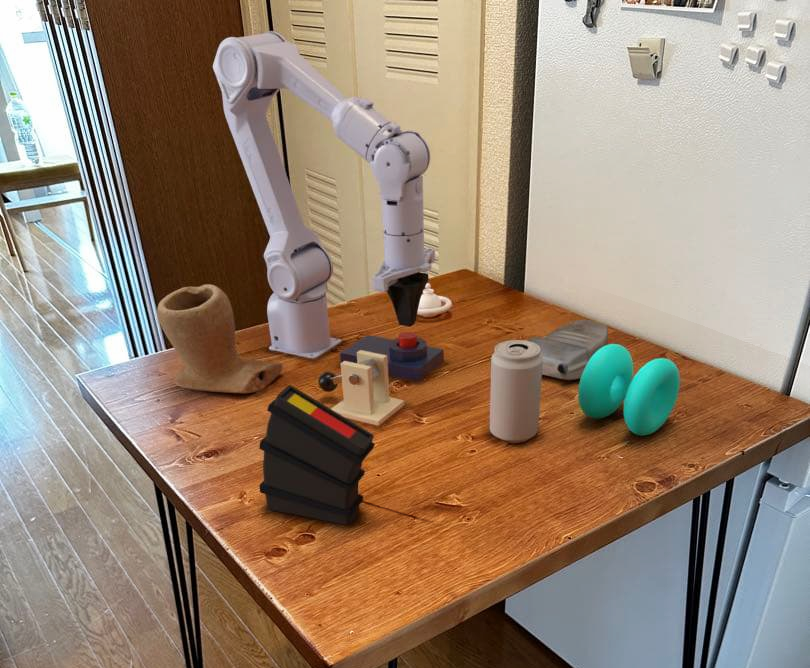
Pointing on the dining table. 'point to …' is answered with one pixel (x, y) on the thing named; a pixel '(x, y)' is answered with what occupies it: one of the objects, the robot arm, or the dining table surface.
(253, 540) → the dining table surface
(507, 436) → the beverage can
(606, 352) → the turquoise spool
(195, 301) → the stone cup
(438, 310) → the ring around a ball
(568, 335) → the handheld device
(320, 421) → the magazine
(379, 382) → the switch box
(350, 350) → the push button base
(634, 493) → the dining table surface
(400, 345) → the red push button
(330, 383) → the toggle
